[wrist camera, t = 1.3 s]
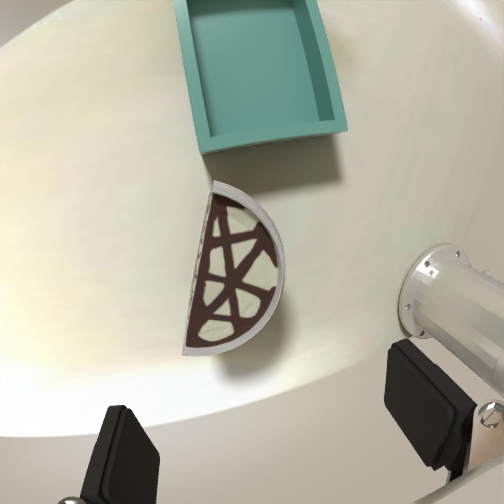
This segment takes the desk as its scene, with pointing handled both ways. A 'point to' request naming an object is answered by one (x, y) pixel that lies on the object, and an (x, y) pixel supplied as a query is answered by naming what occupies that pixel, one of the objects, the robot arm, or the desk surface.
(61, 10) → the desk surface
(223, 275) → the food container
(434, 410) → the robot arm
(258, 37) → the bin
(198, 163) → the desk surface
